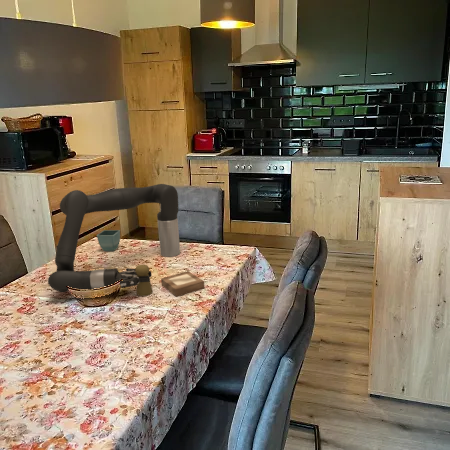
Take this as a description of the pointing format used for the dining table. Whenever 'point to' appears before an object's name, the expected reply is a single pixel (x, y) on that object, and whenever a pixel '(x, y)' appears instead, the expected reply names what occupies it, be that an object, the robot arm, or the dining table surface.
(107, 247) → the flower pot
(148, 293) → the brown wooden pawn
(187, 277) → the dock board
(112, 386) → the dining table surface
